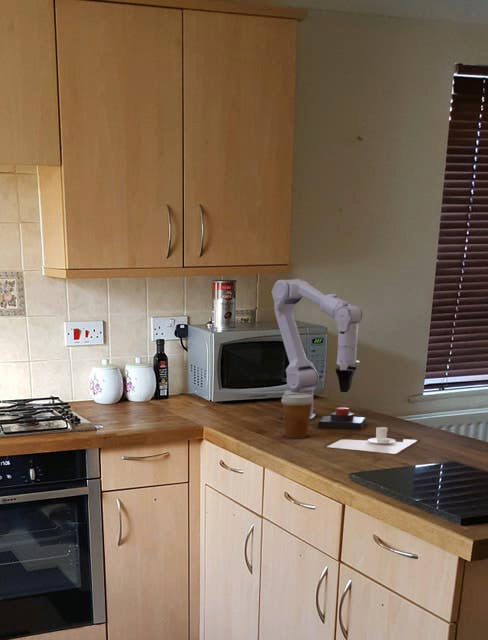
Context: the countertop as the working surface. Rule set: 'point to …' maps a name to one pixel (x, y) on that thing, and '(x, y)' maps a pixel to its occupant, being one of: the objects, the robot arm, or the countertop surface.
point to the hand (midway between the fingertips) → (345, 390)
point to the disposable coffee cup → (296, 414)
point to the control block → (342, 422)
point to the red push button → (342, 411)
